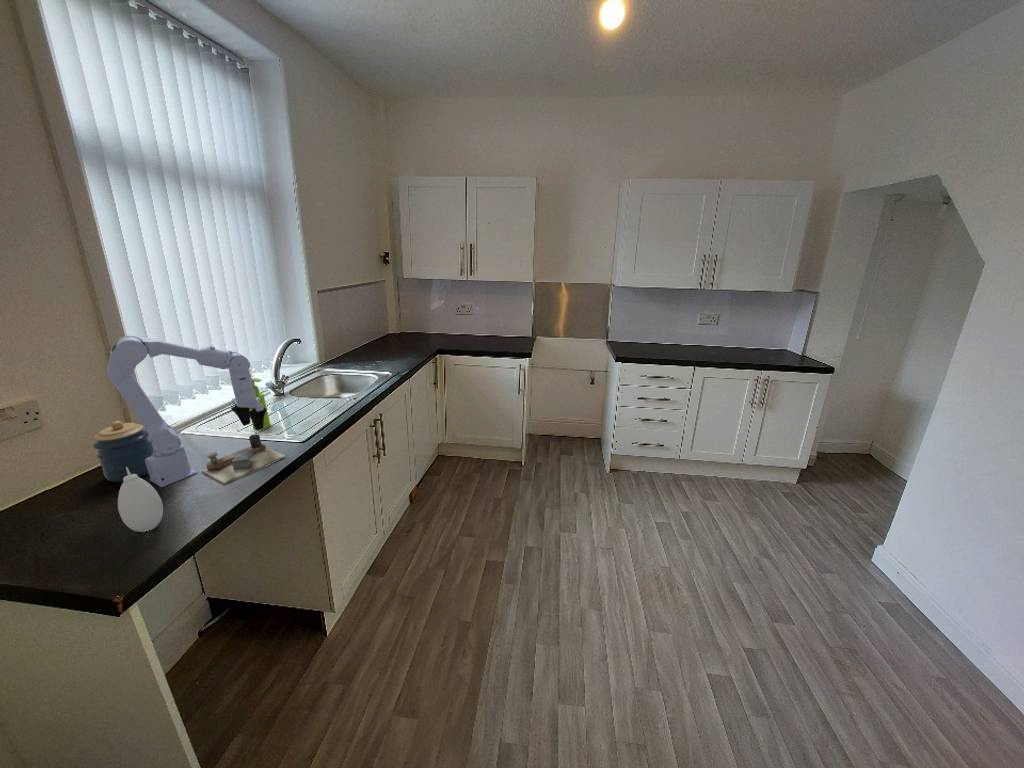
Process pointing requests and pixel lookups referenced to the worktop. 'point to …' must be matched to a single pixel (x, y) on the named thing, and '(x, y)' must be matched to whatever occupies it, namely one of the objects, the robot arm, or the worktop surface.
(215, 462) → the link
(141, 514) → the air blower bulb
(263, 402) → the soap dispenser
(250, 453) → the keeper
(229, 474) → the latch board
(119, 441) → the canister
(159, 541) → the worktop surface
